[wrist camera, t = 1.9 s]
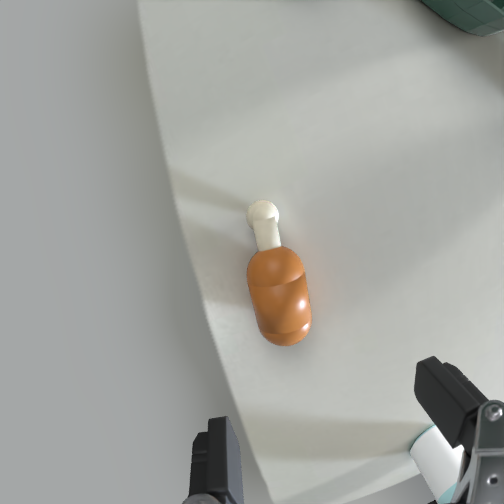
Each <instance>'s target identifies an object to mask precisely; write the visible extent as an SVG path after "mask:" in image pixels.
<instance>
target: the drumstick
mask: <svg viewBox="0 0 504 504" xmlns="http://www.w3.org/2000/svg"><path fill="white" fill-rule="evenodd" d="M278 217H279V215H278V211H277V209H276V207H275V206H274V205H273V204H272V203H271V202H269V201H266V200H259V201H256V202H254V203H253V204H251V205H250V207H249V208H248V210H247V214H246V218H247V222H248V224H249V226H250V227H251V228H252V229H253V230H254V233H255V238H256V242H257V247H258V252H257V253H256V254H255V255H254V256H253V257H252V259H251V260H250V262H249V264H248V268H247V282H248V286H249V290H250V294H251V298H252V303H253V307H254V311H255V315H256V319H257V323H258V327H259V329H260V332H261V333H262V335H263V336H264V337H265V338H266V339H267V340H268V341H269V342H271V343H273V344H275V345H279V346H290V345H294V344H296V343H298V342H299V341H301V340H302V339H303V338H304V337H305V336H306V335H307V333H308V331H309V329H310V327H311V322H312V315H311V308H310V302H309V296H308V289H307V283H306V277H305V271H304V267H303V264H302V262H301V260H300V258H299V257H298V256H297V254H296V253H294V252H293V251H292V250H290V249H288V248H286V247H283V246H281V242H280V237H279V232H278V227H277V222H278Z"/></svg>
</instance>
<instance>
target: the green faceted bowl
mask: <svg viewBox="0 0 504 504" xmlns="http://www.w3.org/2000/svg"><path fill="white" fill-rule="evenodd" d="M422 1H423V3H425V4H426V5H427V6H429V7H430V8H431V9H432V10H434V11H435V12H436V13H437V14H439V15H440V16H441V17H442V18H444V19H445V20H446V21H448V22H450V23H452V24H453V25H455V26H457V27H459V28H460V29H462V30H464V31H465V32H469V33H472V34H476V35H479V36H488V35H494V34H497V33H500V32H503V31H504V0H422Z"/></svg>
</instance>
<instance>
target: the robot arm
mask: <svg viewBox="0 0 504 504" xmlns="http://www.w3.org/2000/svg"><path fill="white" fill-rule="evenodd" d="M414 392H415V396H416V398H417V400H418V402H419V403H420V404H421V406H422V407H423V408H424V410H425V411H426V413H427V414H428V415H429V417H430V418H431V419H432V421H433V422H434V424H435V425H436V426H437V428H438V429H439V431H440V432H441V433H442V435H443V436H444V438H445V439H446V440H447V442H448V443H449V445H450V446H451V448H452V449H454V448H456V447H458V446H460V445H462V446H463V448H464V449H463V452H462V458H461V464H460V470H459V475H458V480H457V485H456V489H455V492H454V494H453V497H452V499H451V502H450V503H445V504H504V403H503V402H501V401H499V400H490V401H489V400H488V399H487V398H486V397H485V396H484V395H483V394H482V393H481V392H480V391H479V390H478V388H477V387H476V386H475V385H474V384H473V383H472V382H471V381H469V380H468V378H467V377H466V376H465V375H463V373H462V372H461V371H460V370H459V369H458V368H457V367H456V366H453V365H451V364H449V363H447V362H446V363H443V364H442V363H441V362H440V361H439V360H438V359H437V358H436V357H435V356H431V357H429V358H427V359H424V360H422V361H420V362H418V363H417V366H416V376H415V385H414ZM190 474H191V475H190V488H189V495H188V498H187V499H185V501H184V502H183V503H182V504H244V499H243V485H242V471H241V458H240V448H239V443H238V440H237V437H236V435H235V433H234V430H233V428H232V425H231V423H230V420H229V418H228V417H227V416H224V417H218V418H212V419H209V421H208V432H201V433H198V435H197V437H196V438H195V440H194V442H193V448H192V463H191V473H190ZM428 504H437V502H436V500H434V501H432V502H430V503H428Z"/></svg>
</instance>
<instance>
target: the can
mask: <svg viewBox="0 0 504 504" xmlns="http://www.w3.org/2000/svg"><path fill="white" fill-rule="evenodd" d="M463 449H464V448H463V446H462V445H460V446H458V447H456V448H454V449H452V448H451V446H450V445H449V443H448V442H447V440H446V439H445V438H444V436H443V435H442V433H441V432H440V431H439V429H438V428H437V426H436V425H434V426H432V427H430V428H429V429H427V430H426V431H424V432H423V433H422V434H421V435H420V436H419V437H418V438H417V439H416V441H415V442H414V444H413V446H412V448H411V451H410V454H411V456H412V458H413V460H414V461H415V463H416V465H417V467H418V468H419V470H420V472H421V474H422V475H423V477H424V479H425V480H426V482H427V484H428V486H429V488H430V489H431V491H432V493H433V494H434V497H435V498H436V500H437V502H438V503H439V504H445V503H450V502H451V499H452V497H453V494H454V492H455V489H456V485H457V480H458V475H459V470H460V464H461V458H462V452H463Z"/></svg>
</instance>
